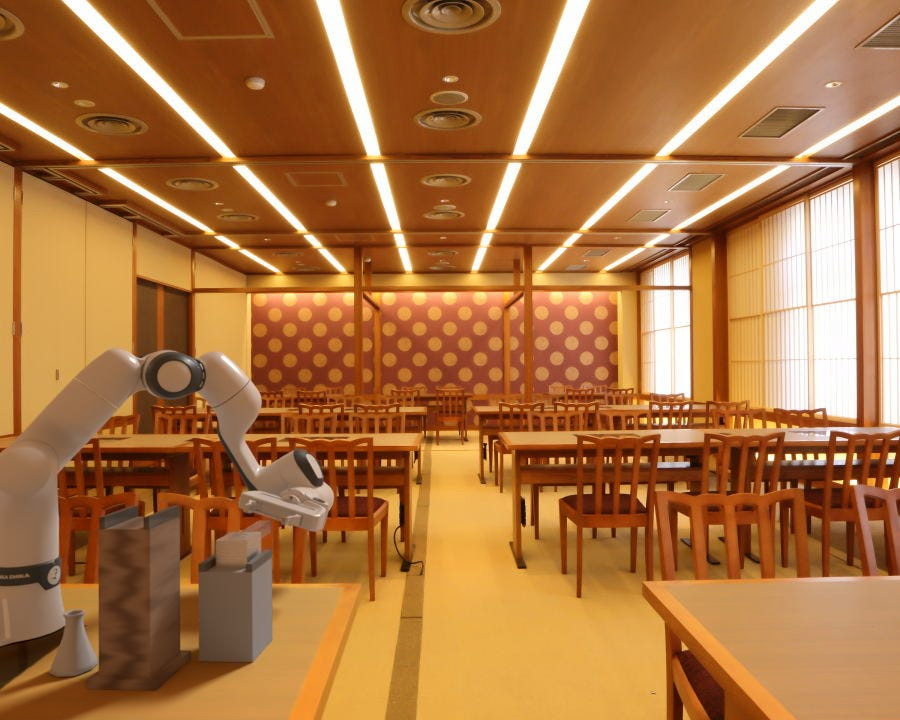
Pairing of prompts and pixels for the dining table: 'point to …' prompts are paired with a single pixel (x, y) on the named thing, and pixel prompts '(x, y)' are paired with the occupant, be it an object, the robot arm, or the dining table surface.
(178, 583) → the tall post
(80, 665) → the flask
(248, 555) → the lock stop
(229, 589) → the grey post
